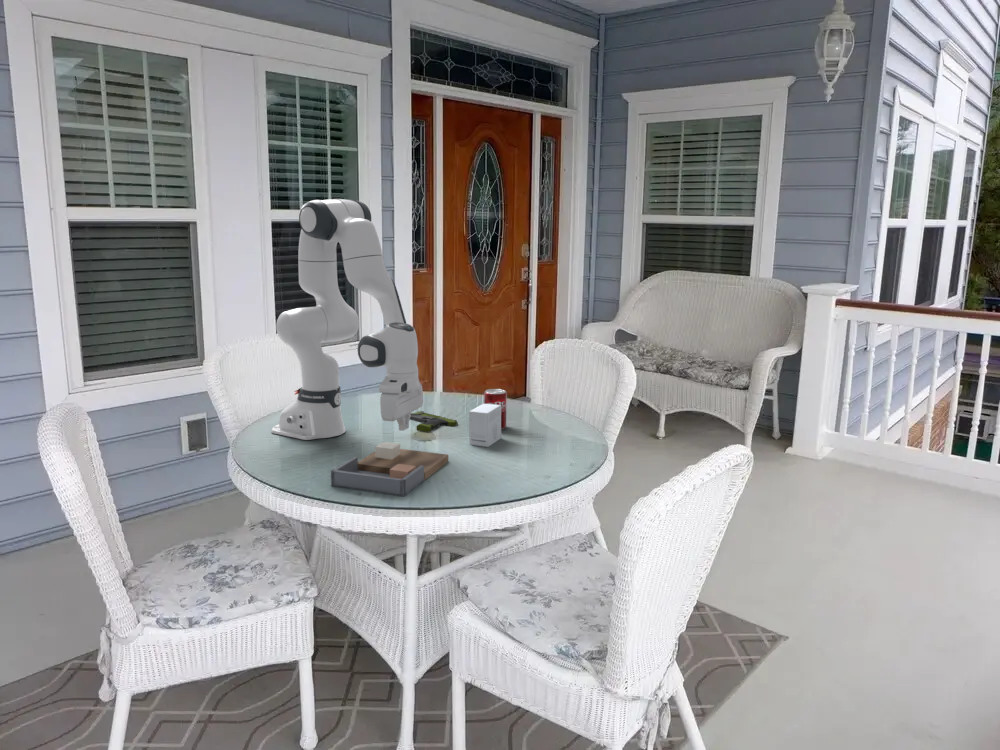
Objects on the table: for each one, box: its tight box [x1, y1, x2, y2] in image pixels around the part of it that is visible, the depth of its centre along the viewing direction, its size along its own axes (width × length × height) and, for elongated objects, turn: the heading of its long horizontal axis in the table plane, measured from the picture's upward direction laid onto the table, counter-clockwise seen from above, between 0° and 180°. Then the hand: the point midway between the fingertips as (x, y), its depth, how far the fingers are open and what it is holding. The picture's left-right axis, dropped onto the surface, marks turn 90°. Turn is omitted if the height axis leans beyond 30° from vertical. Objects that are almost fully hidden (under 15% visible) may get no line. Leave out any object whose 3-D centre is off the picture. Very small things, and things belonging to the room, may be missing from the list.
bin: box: [330, 456, 425, 497], centre depth 196 cm, size 20×12×4 cm, turn 72°
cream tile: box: [374, 441, 401, 459], centre depth 212 cm, size 5×5×3 cm
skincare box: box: [468, 403, 502, 448], centre depth 233 cm, size 10×6×10 cm, turn 157°
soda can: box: [483, 388, 508, 431], centre depth 248 cm, size 7×7×12 cm
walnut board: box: [358, 448, 449, 481], centre depth 210 cm, size 20×16×2 cm
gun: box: [409, 410, 459, 433], centre depth 253 cm, size 2×19×15 cm
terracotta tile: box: [390, 464, 416, 479], centre depth 199 cm, size 5×5×3 cm
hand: (403, 429), depth 219 cm, fingers closed
